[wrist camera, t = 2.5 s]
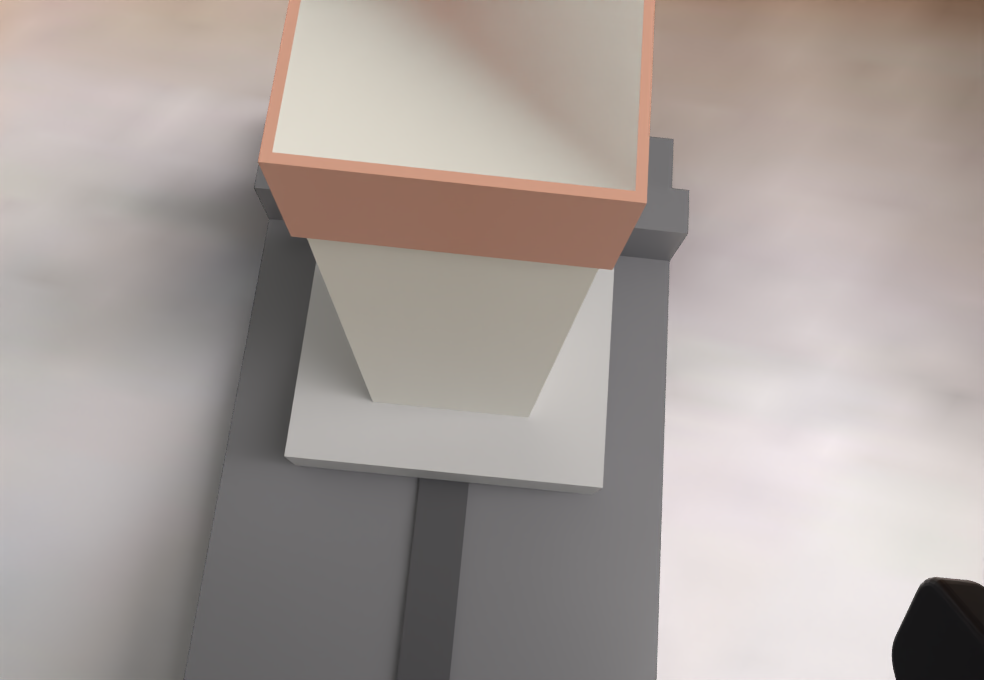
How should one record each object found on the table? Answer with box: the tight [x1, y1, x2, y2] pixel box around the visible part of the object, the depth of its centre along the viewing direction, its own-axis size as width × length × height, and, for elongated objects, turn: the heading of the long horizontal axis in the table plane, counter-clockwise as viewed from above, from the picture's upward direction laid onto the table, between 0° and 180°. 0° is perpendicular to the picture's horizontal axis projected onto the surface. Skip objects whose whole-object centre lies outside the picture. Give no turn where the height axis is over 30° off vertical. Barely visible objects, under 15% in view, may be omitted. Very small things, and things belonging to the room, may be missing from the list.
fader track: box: [184, 137, 689, 680], centre depth 16 cm, size 22×9×3 cm, turn 175°
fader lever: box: [258, 0, 655, 495], centre depth 12 cm, size 5×6×11 cm
